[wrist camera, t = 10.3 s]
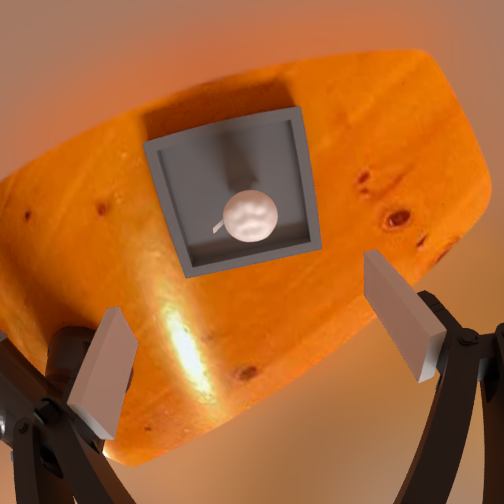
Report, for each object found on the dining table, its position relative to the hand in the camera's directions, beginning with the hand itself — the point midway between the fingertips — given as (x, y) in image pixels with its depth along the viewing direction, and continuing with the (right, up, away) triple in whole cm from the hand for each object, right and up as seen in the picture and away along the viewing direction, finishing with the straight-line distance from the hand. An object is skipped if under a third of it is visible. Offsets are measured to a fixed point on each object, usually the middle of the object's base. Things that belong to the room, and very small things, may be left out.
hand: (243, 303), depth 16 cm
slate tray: (-1, +9, +18) cm, 20 cm away
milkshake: (-1, +9, +18) cm, 20 cm away
